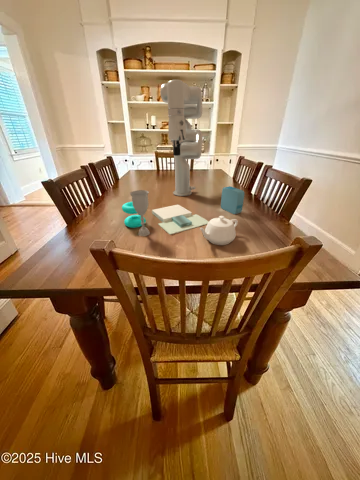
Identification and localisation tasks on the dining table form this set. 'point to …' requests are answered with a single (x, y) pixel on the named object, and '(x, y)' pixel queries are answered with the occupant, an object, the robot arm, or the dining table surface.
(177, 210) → the block
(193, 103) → the robot arm
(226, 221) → the teapot
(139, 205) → the chalice
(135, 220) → the donuts
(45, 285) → the dining table surface
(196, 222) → the mat
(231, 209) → the data package
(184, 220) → the tile
